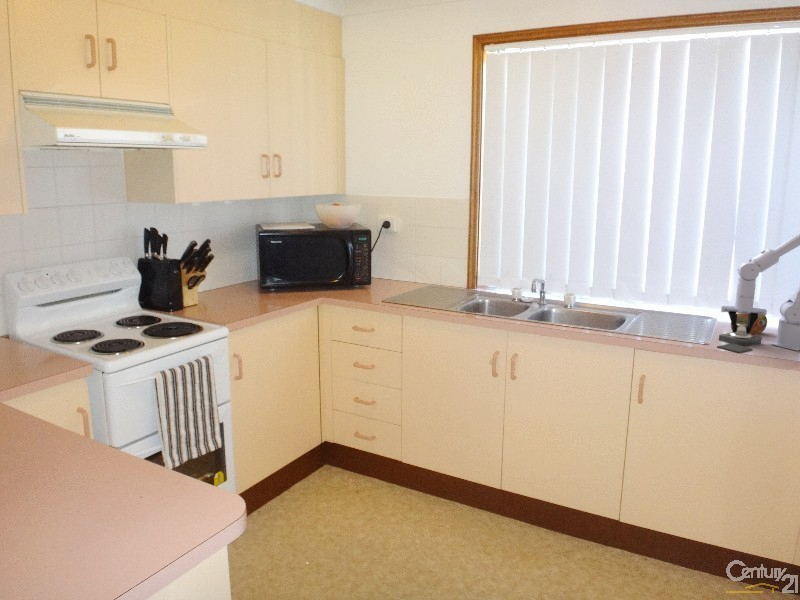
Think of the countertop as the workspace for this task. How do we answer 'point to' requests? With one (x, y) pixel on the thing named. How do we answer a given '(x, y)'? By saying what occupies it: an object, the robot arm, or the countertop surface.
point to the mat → (734, 348)
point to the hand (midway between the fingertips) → (740, 332)
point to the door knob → (741, 332)
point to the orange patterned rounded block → (758, 324)
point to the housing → (740, 340)
